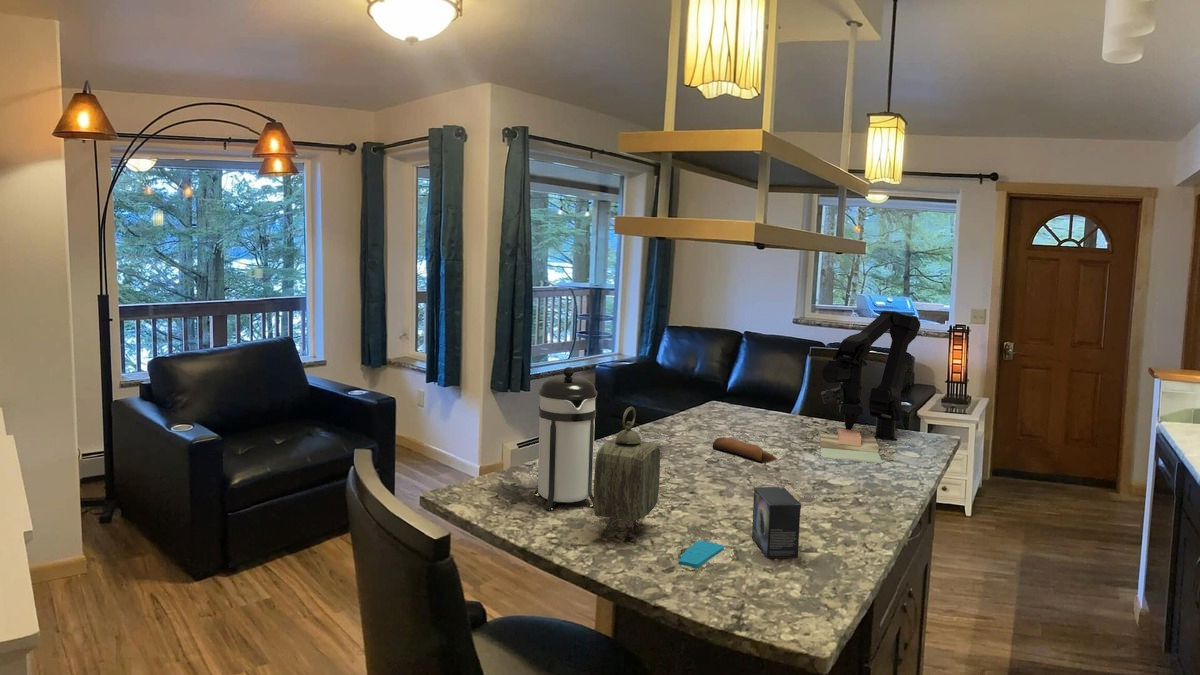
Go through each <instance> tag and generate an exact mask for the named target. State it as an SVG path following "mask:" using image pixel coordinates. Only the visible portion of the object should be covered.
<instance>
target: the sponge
mask: <svg viewBox="0 0 1200 675" xmlns="http://www.w3.org/2000/svg"><path fill="white" fill-rule="evenodd" d="M724 548H725V546H724V545H722V544H719V543H715V542H710V541H704V540H696V541H695V542H694V543H693V544H692V545H691V546H690V547H689V548H687V549H686V550H685V551H684V552H683V553H682V554H680V555H679V560H678V565H683V566H687V567H692V568H695V569H699V568H700V567H702V566H703V565H705V564H706V563H707V562H708V561H709V560H711V559H712V558H714V557H715V556H716V555H717V554H719V553H720V552H722V551H723V550H724Z"/></svg>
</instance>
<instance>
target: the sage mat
mask: <svg viewBox="0 0 1200 675" xmlns="http://www.w3.org/2000/svg"><path fill="white" fill-rule="evenodd" d="M820 457H821V458H822V459H823V458H824V459H834V460H844V461H845V460H846V461H854V462H864V463H865V462H866V463H874V464H875V463H876V464H882V463H883V460H882V458H881V456H880V454H879V452H878V453H873V452H862V451H851V450H840V449H829V448H821V449H820Z"/></svg>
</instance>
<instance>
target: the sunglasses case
mask: <svg viewBox="0 0 1200 675" xmlns="http://www.w3.org/2000/svg"><path fill="white" fill-rule="evenodd" d="M712 449H713V450H719V451H725V452H730V453H733V454H735V455H738V456H743V457H744V458H749V459H752V460H755V461H757V462H758V461H759V462H761V464H766V463H769V462H774V461H776V460H779V459H778V458H777V457H776V456H775V455H773V454H771V452H768V451H766V450H763V449H762V447H760V446H759V444H755V443H754V444H752V443H749V442H745V441H743V440H740V439H736V438H731V437H718V438H716V439H715V440H714V441H713V443H712Z"/></svg>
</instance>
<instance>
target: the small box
mask: <svg viewBox="0 0 1200 675" xmlns="http://www.w3.org/2000/svg"><path fill="white" fill-rule="evenodd" d="M801 508H802V504H801V503H800V502H799V501H798V500H797V499H796V498H795V496H793V495H792V494H791V493H790V492H789V490H787V489H786V488H785V487H784V486H761V487H758V486H757V487H754V488H753V507H752V528H751V529H752V530H751V537H752V539H753V541H754V542H755V543H756V545H757V546H758V547H759V549H760V550H761V552H762V553H763V554H764V556H765V557H766V559H798V558H799V547H800V546H799V545H800V543H799V542H800V526H801V525H800V524H801V522H800V520H801V512H802V511H801Z"/></svg>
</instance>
